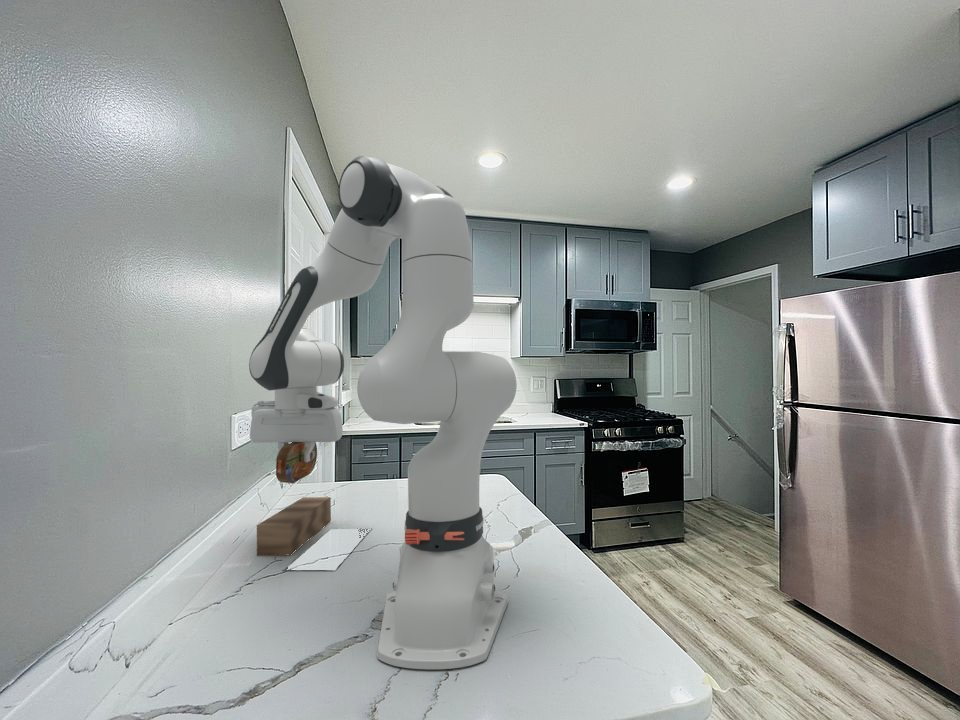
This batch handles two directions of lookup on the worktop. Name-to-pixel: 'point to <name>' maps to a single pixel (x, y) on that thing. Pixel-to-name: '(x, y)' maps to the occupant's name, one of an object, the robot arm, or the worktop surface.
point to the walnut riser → (293, 526)
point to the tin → (294, 462)
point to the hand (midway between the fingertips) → (296, 462)
